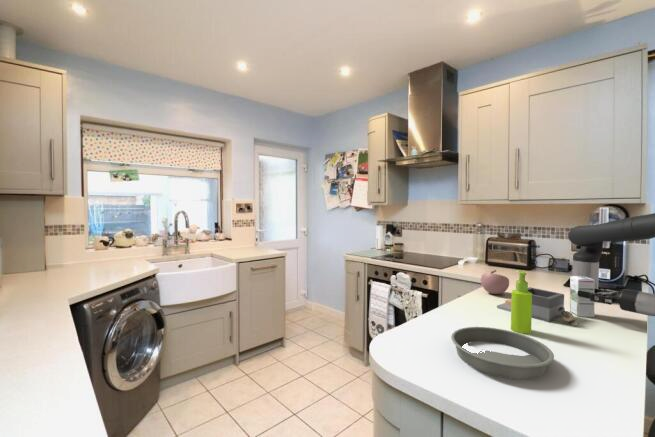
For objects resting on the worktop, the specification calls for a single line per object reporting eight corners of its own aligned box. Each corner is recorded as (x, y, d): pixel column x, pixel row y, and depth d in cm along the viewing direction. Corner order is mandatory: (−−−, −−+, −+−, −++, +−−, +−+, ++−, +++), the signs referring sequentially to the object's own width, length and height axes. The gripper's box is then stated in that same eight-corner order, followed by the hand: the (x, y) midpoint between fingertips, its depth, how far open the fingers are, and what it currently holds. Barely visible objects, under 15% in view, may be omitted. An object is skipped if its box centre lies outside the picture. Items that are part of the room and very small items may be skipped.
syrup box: (595, 317, 118) (596, 279, 117) (577, 316, 119) (578, 278, 118) (585, 312, 123) (586, 276, 123) (568, 311, 125) (569, 275, 124)
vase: (560, 325, 110) (560, 308, 110) (554, 321, 115) (554, 305, 115) (578, 327, 108) (578, 309, 108) (572, 323, 113) (572, 306, 114)
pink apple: (509, 292, 152) (510, 269, 151) (508, 298, 142) (508, 273, 141) (482, 289, 158) (482, 266, 158) (479, 294, 148) (479, 270, 148)
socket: (512, 303, 135) (512, 283, 135) (563, 316, 119) (564, 294, 119) (496, 307, 129) (497, 287, 129) (548, 322, 113) (549, 299, 113)
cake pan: (577, 375, 78) (578, 357, 78) (499, 391, 71) (499, 372, 71) (498, 336, 102) (498, 322, 101) (433, 345, 95) (433, 330, 94)
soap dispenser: (527, 327, 108) (529, 270, 108) (533, 334, 102) (535, 274, 101) (508, 325, 110) (509, 268, 110) (512, 332, 104) (514, 272, 103)
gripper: (647, 288, 111) (590, 279, 124) (634, 294, 103) (575, 284, 117) (646, 309, 111) (589, 298, 125) (633, 317, 103) (574, 304, 117)
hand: (582, 291), depth 121 cm, fingers open, 8 cm apart
